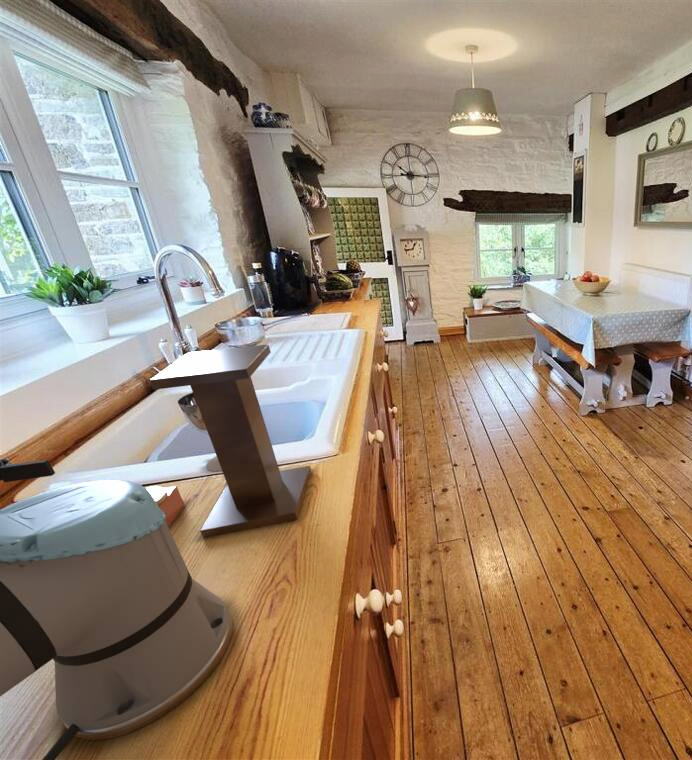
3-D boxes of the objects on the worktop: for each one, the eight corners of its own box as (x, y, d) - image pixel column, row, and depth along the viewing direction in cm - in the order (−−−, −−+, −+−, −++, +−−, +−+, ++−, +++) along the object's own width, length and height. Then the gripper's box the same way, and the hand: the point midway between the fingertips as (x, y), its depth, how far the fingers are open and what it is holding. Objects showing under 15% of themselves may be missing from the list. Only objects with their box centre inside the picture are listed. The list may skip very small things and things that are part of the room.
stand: (202, 537, 65) (136, 383, 55) (232, 485, 78) (183, 351, 67) (297, 519, 68) (251, 370, 58) (311, 471, 81) (276, 341, 70)
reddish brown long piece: (35, 556, 63) (20, 532, 61) (67, 524, 69) (54, 502, 67) (165, 531, 67) (154, 508, 65) (184, 504, 73) (175, 482, 71)
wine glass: (256, 450, 89) (235, 387, 83) (230, 472, 82) (205, 405, 76) (222, 449, 90) (199, 387, 84) (193, 471, 82) (166, 405, 76)
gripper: (-65, 487, 70) (82, 466, 75) (-277, 619, 48) (-49, 578, 53) (-92, 450, 67) (64, 431, 72) (-331, 572, 45) (-84, 534, 50)
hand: (16, 493), depth 62 cm, fingers open, 13 cm apart
